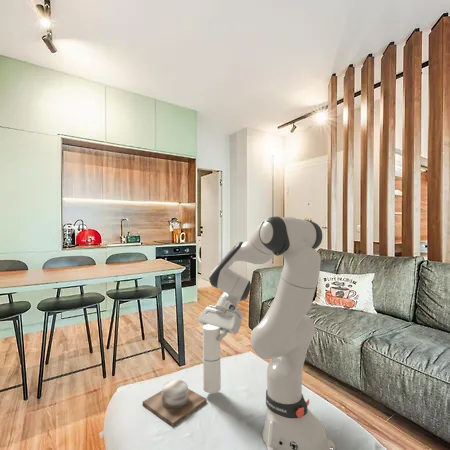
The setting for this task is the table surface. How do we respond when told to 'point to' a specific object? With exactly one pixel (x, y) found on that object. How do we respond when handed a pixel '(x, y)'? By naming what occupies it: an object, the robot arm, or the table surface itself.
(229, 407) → the table surface
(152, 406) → the base
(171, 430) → the table surface
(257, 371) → the table surface
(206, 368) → the cylindrical container
